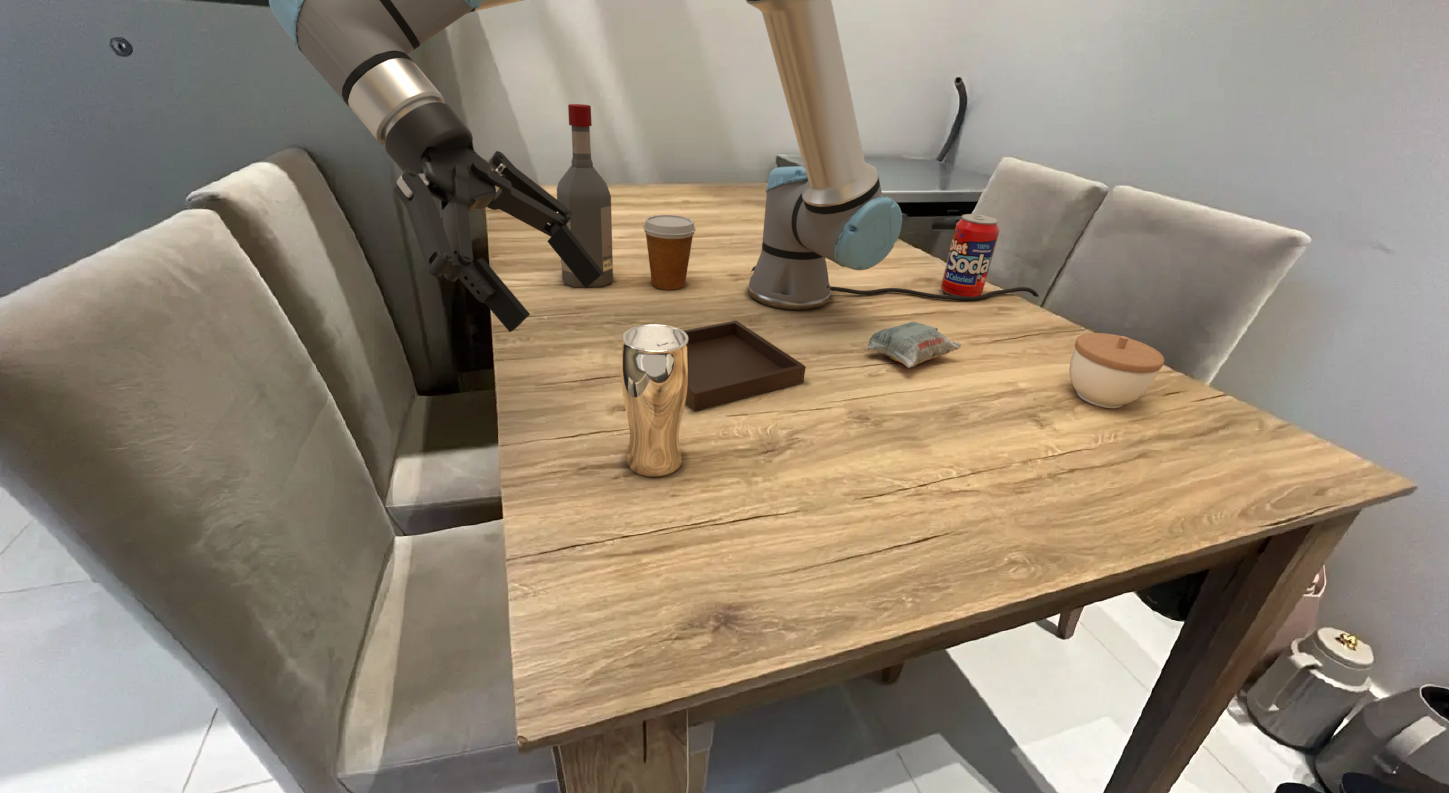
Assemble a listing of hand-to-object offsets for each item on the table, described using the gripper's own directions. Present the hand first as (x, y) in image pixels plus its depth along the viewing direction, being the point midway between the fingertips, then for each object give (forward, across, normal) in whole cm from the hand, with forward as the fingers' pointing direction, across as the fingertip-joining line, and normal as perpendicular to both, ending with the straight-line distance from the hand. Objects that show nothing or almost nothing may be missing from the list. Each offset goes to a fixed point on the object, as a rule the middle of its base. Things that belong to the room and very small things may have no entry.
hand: (560, 300), depth 64 cm
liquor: (-6, -48, -30) cm, 57 cm away
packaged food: (+37, -41, +13) cm, 56 cm away
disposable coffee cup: (+4, -53, -20) cm, 57 cm away
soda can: (+41, -76, +17) cm, 88 cm away
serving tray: (+18, -24, -5) cm, 31 cm away
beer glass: (+20, 0, -4) cm, 20 cm away
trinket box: (+55, -40, +32) cm, 75 cm away
